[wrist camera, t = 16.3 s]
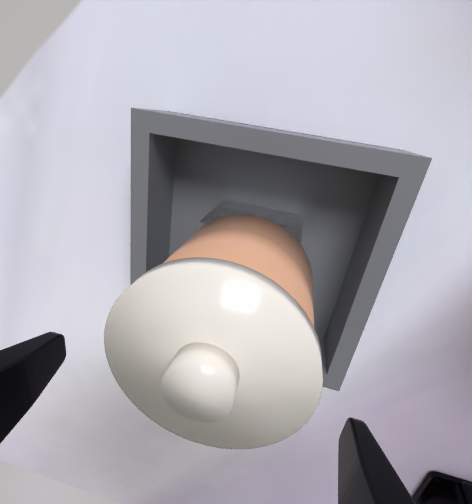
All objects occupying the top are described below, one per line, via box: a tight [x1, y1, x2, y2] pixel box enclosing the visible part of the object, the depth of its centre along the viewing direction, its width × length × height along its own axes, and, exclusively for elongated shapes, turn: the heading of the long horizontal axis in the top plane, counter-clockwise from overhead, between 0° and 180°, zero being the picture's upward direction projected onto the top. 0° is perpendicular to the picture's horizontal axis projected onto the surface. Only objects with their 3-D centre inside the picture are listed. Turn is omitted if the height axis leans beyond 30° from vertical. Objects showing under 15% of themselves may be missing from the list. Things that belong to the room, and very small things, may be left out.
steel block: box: [198, 199, 303, 244], centre depth 18 cm, size 5×5×5 cm
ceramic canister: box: [104, 214, 323, 449], centre depth 12 cm, size 7×7×7 cm
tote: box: [131, 108, 432, 391], centre depth 19 cm, size 14×14×4 cm
